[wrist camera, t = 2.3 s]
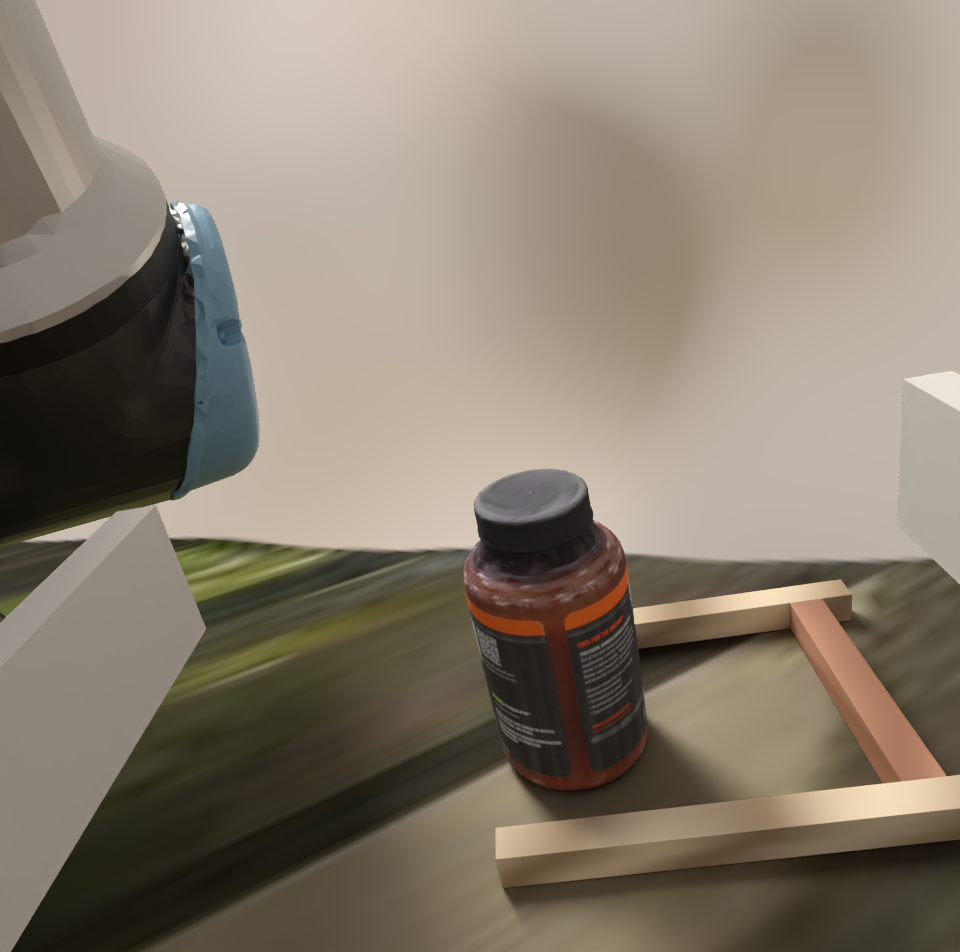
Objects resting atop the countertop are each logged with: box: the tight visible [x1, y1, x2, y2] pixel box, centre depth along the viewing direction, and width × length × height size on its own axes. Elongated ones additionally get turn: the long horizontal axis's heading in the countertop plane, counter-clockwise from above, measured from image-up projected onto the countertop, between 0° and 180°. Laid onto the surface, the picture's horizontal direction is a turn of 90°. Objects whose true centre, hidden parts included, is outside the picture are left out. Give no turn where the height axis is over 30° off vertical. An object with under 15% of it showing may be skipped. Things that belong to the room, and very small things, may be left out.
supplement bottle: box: [463, 469, 648, 790], centre depth 28 cm, size 6×6×11 cm
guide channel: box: [496, 580, 960, 888], centre depth 29 cm, size 16×12×1 cm
